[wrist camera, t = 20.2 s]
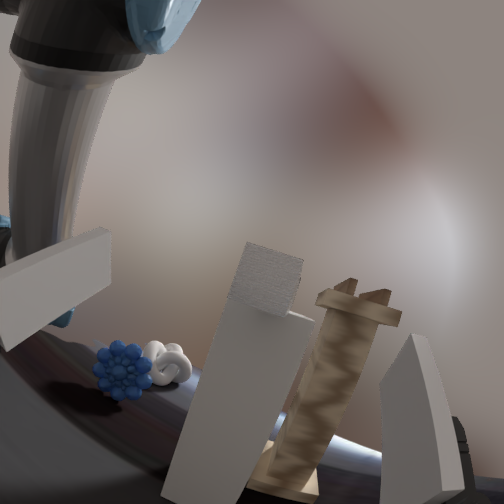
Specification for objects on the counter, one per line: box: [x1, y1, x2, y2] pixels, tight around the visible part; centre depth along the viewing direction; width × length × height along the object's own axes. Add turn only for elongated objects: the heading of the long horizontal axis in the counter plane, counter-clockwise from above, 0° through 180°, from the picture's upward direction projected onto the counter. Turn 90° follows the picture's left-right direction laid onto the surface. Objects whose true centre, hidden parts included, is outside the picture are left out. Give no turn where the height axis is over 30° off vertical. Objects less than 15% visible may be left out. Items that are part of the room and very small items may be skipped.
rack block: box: [160, 299, 315, 504], centre depth 28 cm, size 8×11×26 cm
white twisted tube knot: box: [143, 341, 192, 386], centre depth 60 cm, size 11×12×9 cm
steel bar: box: [227, 242, 304, 318], centre depth 26 cm, size 3×24×4 cm, turn 172°
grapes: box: [93, 340, 153, 401], centre depth 43 cm, size 12×7×12 cm, turn 87°
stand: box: [246, 278, 402, 504], centre depth 37 cm, size 10×14×32 cm
